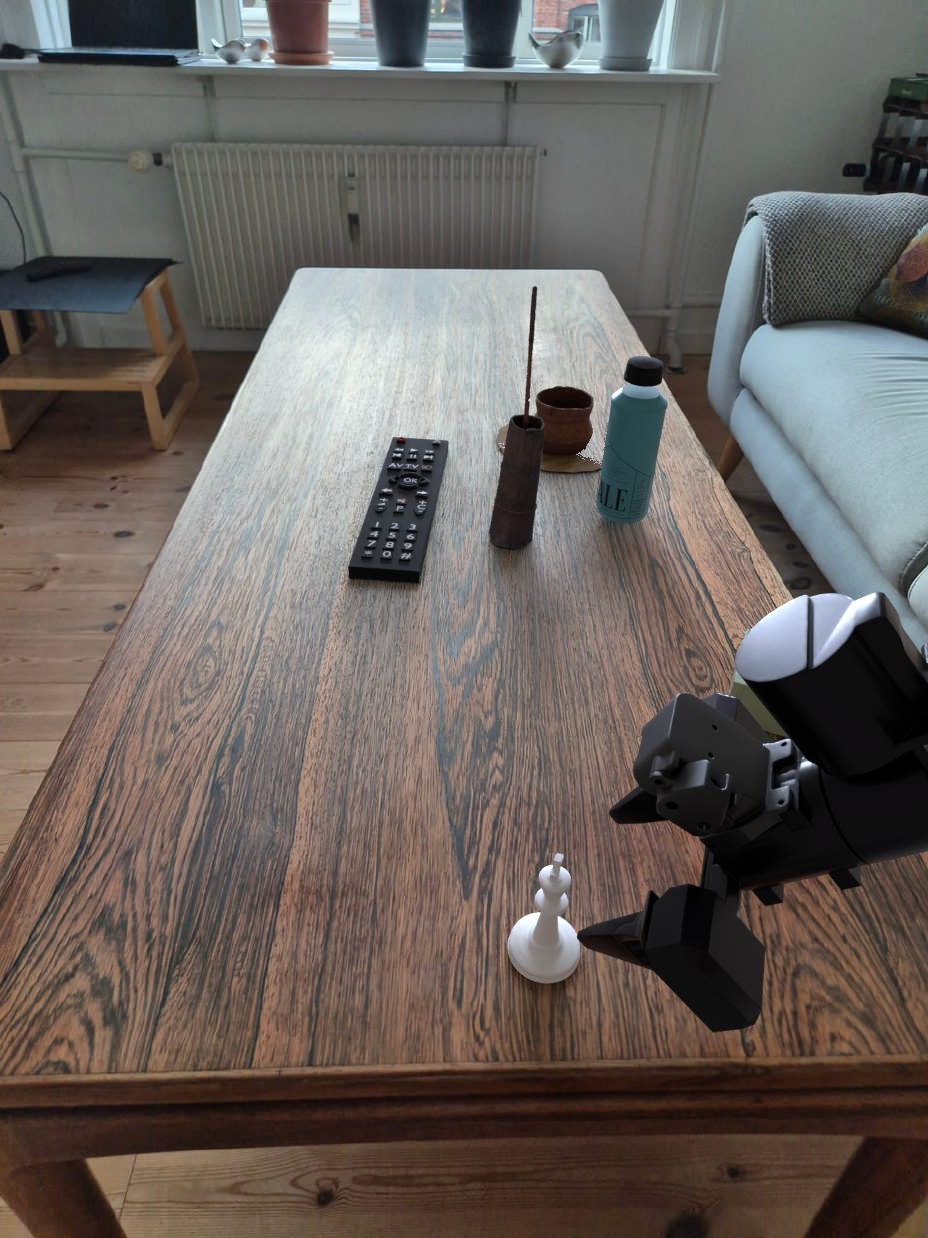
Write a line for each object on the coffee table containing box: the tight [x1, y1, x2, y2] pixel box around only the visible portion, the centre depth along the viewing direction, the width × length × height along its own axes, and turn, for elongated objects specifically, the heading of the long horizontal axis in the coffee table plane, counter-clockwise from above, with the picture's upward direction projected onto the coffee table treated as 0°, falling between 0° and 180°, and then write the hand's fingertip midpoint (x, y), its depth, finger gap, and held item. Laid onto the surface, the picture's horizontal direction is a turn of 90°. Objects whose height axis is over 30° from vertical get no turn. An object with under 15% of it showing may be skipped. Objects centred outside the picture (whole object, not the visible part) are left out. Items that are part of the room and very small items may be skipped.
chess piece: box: [507, 852, 581, 984], centre depth 54 cm, size 5×5×10 cm
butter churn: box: [488, 285, 545, 550], centre depth 89 cm, size 9×10×28 cm
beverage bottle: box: [595, 355, 669, 524], centre depth 96 cm, size 6×7×20 cm
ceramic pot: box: [495, 385, 603, 474], centre depth 116 cm, size 18×18×7 cm
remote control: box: [347, 436, 449, 584], centre depth 102 cm, size 8×32×2 cm, turn 175°
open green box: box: [728, 628, 790, 739], centre depth 76 cm, size 8×8×4 cm
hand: (598, 874), depth 50 cm, fingers open, 9 cm apart
